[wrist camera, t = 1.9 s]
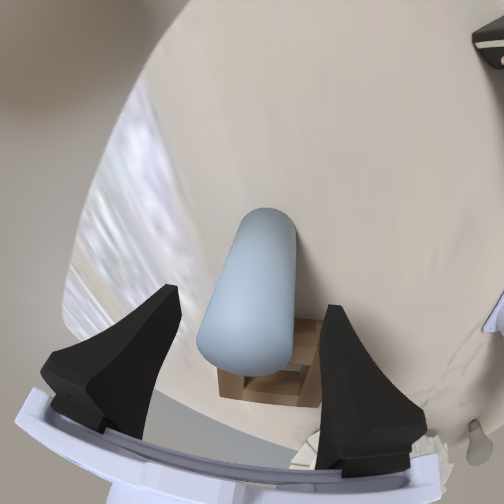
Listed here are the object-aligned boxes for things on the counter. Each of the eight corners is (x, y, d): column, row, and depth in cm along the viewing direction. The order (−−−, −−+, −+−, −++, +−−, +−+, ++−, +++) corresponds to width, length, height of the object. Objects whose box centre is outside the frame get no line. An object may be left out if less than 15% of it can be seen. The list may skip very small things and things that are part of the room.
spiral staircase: (347, 378, 34) (429, 417, 38) (270, 453, 36) (366, 475, 39) (409, 473, 16) (478, 474, 20) (288, 547, 18) (396, 536, 21)
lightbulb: (466, 418, 34) (476, 465, 24) (489, 410, 32) (500, 454, 23) (456, 430, 37) (463, 473, 27) (478, 422, 35) (487, 463, 26)
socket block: (343, 322, 23) (347, 349, 20) (318, 385, 29) (318, 407, 26) (222, 309, 24) (214, 334, 21) (225, 374, 30) (219, 396, 27)
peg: (299, 211, 18) (299, 324, 10) (292, 261, 20) (285, 381, 12) (239, 204, 19) (191, 309, 10) (238, 255, 21) (200, 368, 12)
